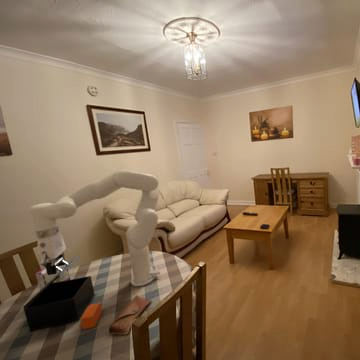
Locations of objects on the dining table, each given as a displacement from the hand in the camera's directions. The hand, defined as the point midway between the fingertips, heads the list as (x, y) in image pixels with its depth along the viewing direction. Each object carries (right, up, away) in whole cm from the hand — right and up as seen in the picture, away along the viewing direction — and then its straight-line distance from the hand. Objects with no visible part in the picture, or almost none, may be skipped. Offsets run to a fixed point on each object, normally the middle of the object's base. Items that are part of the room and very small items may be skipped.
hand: (57, 269), depth 93 cm
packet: (+18, -21, -3) cm, 28 cm away
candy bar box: (-12, -20, +15) cm, 28 cm away
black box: (+1, -21, +4) cm, 21 cm away
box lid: (-1, -5, 0) cm, 5 cm away
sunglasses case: (+34, -20, -1) cm, 40 cm away
